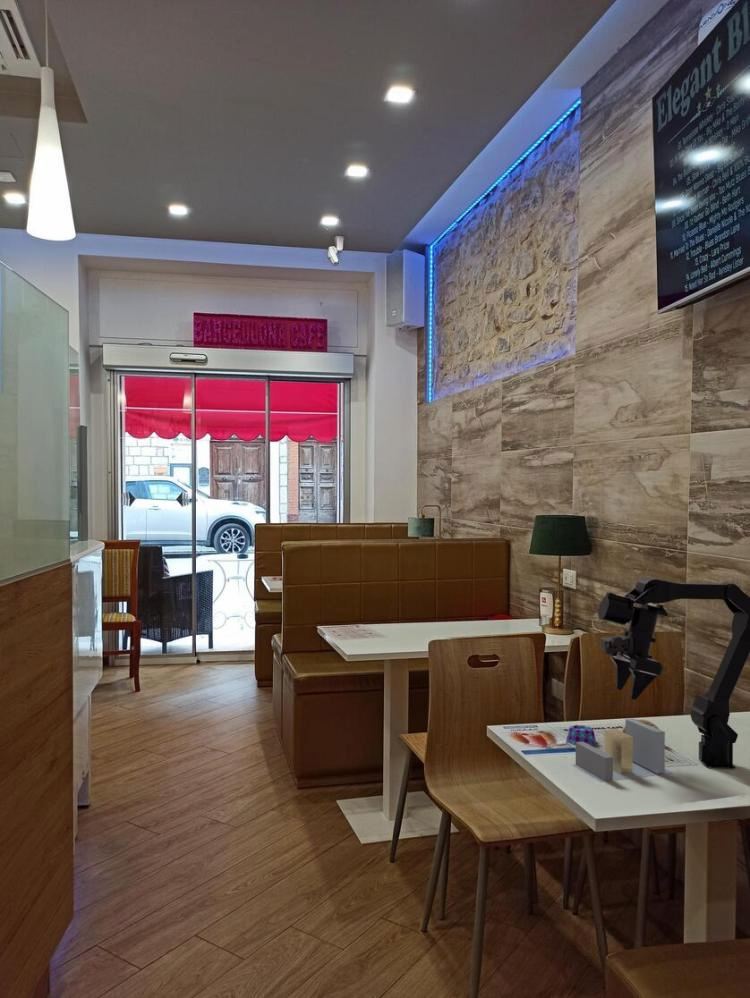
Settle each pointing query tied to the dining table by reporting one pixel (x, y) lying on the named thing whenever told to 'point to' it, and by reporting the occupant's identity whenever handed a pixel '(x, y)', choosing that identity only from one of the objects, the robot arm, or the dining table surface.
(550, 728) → the dining table surface
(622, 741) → the brass block
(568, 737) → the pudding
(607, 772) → the plate
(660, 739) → the sliding jaw
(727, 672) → the robot arm
